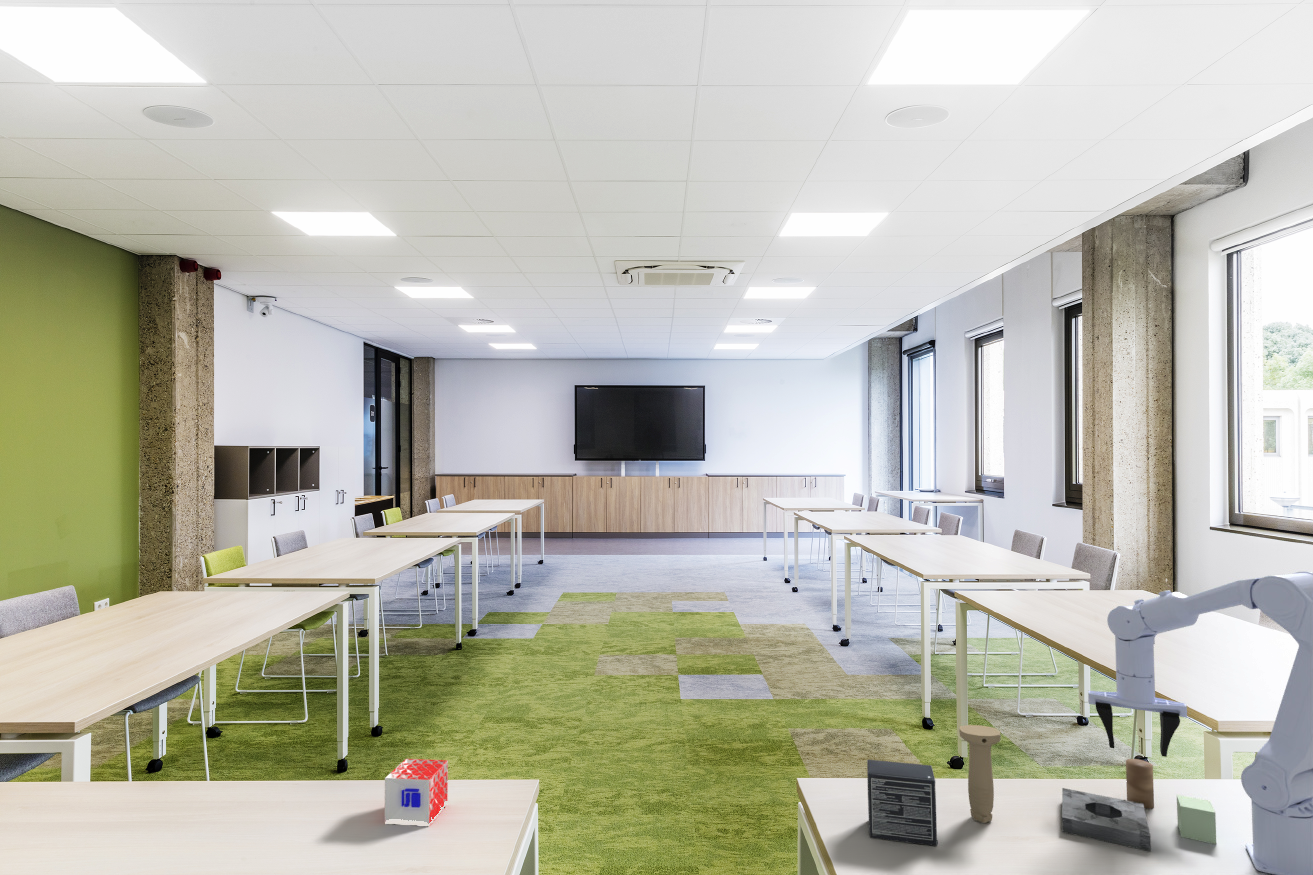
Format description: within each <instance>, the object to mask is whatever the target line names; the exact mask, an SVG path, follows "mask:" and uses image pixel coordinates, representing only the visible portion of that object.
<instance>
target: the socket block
mask: <svg viewBox="0 0 1313 875" xmlns="http://www.w3.org/2000/svg"><path fill="white" fill-rule="evenodd" d="M1061 790H1062V792H1061V795H1062V796H1061V806H1062V807H1061V822H1062V823H1061V825H1062V829H1061V830H1062V831H1061V832H1062V833H1066V834H1070V835H1075V836H1079V837H1084V838H1088V839H1092V840H1097V841H1102V842H1106V843H1111V844H1115V845H1119V846H1123V847H1129V848H1132V849H1138V850H1142V851H1147V852H1152V844H1151V843H1152V842H1151V840H1152V839H1151V831H1150V828H1149V824H1148V819H1147V815H1146V809H1144V805H1143V804H1142V803H1137V802H1132V801H1127V799H1121V798H1116V797H1112V796H1105V795H1102V794H1101V795H1100V794H1095V793H1090V792H1084V791H1079V790H1075V789H1070V788H1065V787H1062V789H1061Z"/></svg>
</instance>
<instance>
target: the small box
mask: <svg viewBox="0 0 1313 875" xmlns="http://www.w3.org/2000/svg"><path fill="white" fill-rule="evenodd" d="M866 761H867V762H866V763H867V764H866V765H867V768H866V769H867V774H866V775H867V804H868V805H867V806H868V807H867V809H868V813H867V814H868V837H869V838H870V839H878V840H883V841H884V840H886V841H887V840H888V841H893V842H894V841H895V842H902V843H909V844H917V845H927V846H934V847H936V846H938V845H939V842H938V831H937V827H938V826H937V824H938V823H937V800H936V799H937V796H936V795H937V794H936V793H937V792H936V778H935V775H934V770H933V766H932V765H928V764H918V763H908V762H898V761H897V762H896V761H886V760H876V759H867V760H866Z"/></svg>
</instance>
